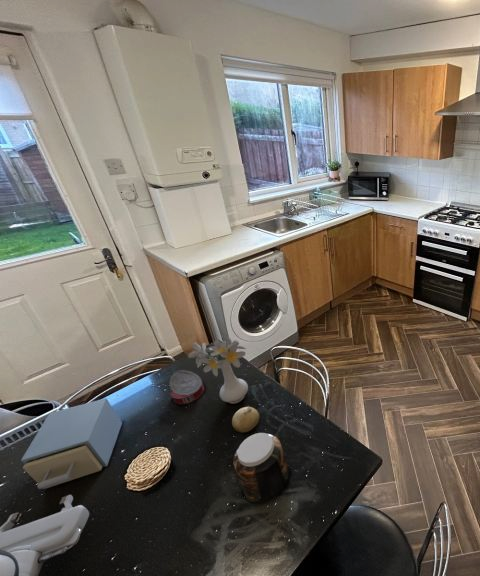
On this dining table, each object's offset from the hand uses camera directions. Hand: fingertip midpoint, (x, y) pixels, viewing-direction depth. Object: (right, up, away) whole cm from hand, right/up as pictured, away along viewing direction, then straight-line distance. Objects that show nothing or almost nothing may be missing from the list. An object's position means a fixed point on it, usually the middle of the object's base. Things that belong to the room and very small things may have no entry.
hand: (43, 505), depth 74 cm
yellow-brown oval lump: (+38, +7, +27) cm, 47 cm away
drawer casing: (-8, +3, +19) cm, 21 cm away
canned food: (+11, +14, +39) cm, 42 cm away
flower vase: (+28, +13, +37) cm, 48 cm away
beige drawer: (-6, +2, +15) cm, 16 cm away
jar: (+50, -1, +11) cm, 51 cm away
